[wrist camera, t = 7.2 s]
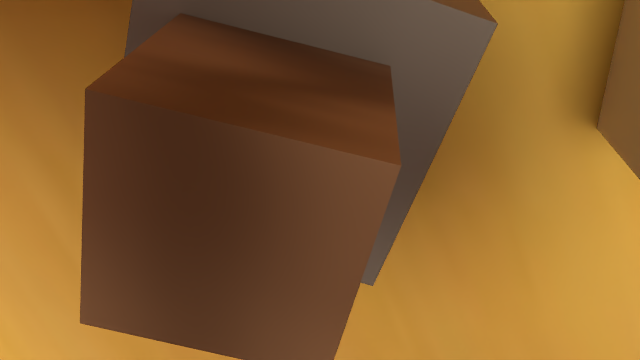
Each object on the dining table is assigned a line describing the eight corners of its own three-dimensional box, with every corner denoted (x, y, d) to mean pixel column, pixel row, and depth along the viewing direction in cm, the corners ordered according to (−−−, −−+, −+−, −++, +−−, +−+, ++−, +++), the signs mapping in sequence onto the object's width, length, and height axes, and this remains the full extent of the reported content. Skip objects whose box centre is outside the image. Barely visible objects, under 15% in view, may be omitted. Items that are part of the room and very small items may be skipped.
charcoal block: (472, -8, 16) (498, 23, 13) (372, 219, 19) (372, 286, 16) (192, -107, 15) (146, -100, 12) (146, 149, 19) (102, 204, 16)
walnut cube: (390, 65, 13) (401, 165, 9) (338, 235, 16) (327, 378, 11) (180, 13, 13) (85, 89, 9) (161, 193, 15) (79, 323, 11)
